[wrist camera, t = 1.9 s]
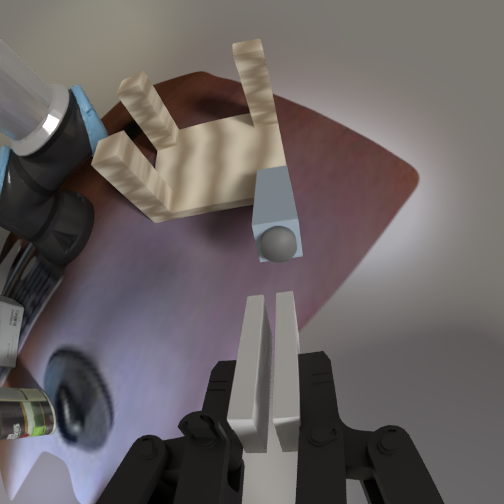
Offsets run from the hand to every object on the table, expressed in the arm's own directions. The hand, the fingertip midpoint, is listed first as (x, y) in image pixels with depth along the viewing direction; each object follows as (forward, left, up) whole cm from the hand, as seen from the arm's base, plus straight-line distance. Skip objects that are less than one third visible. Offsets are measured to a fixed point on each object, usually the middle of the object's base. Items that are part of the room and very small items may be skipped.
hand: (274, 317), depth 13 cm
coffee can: (-50, -16, -22) cm, 57 cm away
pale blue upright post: (0, +20, -18) cm, 27 cm away
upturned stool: (-9, +28, -22) cm, 37 cm away
